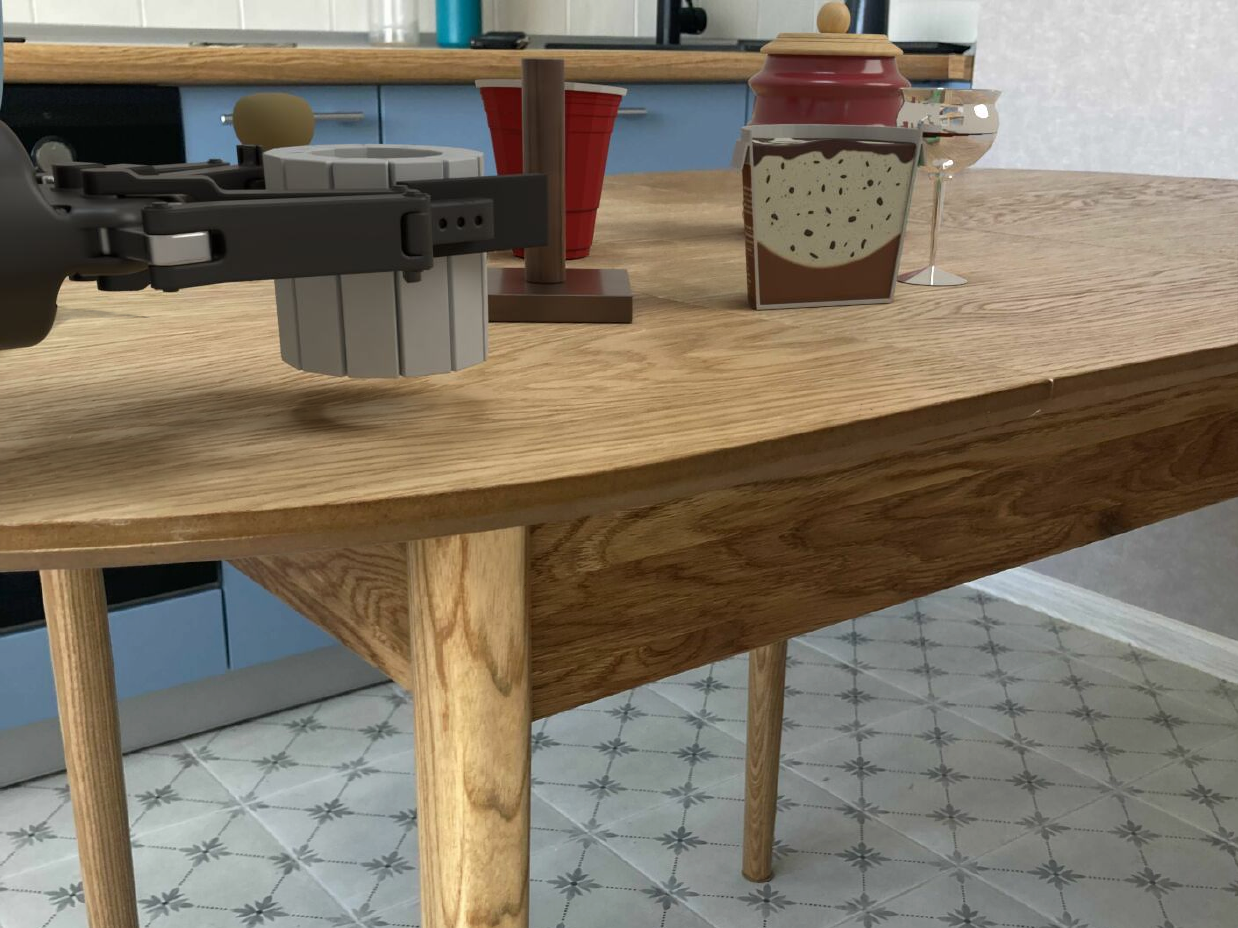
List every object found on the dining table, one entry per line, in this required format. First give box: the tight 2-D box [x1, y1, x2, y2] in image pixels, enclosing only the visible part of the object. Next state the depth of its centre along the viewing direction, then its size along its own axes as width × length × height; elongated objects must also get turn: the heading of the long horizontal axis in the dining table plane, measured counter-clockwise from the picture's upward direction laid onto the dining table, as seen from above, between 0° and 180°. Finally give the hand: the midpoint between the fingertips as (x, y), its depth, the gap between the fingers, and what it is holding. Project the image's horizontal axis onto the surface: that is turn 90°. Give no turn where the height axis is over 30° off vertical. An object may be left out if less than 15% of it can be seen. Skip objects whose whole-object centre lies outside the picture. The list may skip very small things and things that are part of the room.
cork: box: [231, 92, 316, 152], centre depth 90 cm, size 6×6×11 cm
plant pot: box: [263, 143, 490, 380], centre depth 55 cm, size 8×8×8 cm
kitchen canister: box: [741, 1, 912, 232], centre depth 110 cm, size 13×13×18 cm
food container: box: [730, 124, 927, 311], centre depth 83 cm, size 12×6×10 cm, turn 111°
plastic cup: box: [474, 78, 628, 260], centre depth 98 cm, size 11×11×12 cm
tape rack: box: [487, 57, 634, 324], centre depth 78 cm, size 10×10×14 cm
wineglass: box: [894, 87, 1003, 286], centre depth 90 cm, size 7×7×12 cm
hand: (472, 198), depth 57 cm, fingers closed on plant pot, 9 cm apart
